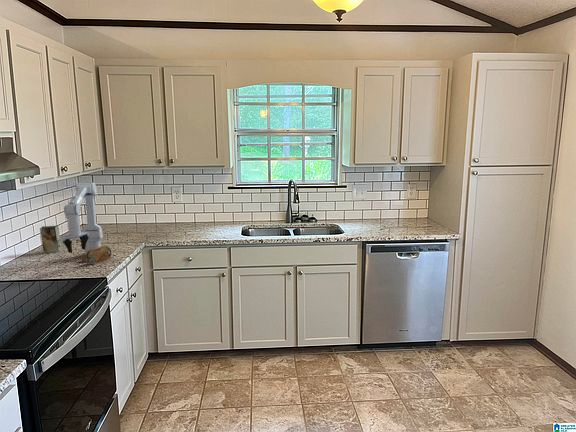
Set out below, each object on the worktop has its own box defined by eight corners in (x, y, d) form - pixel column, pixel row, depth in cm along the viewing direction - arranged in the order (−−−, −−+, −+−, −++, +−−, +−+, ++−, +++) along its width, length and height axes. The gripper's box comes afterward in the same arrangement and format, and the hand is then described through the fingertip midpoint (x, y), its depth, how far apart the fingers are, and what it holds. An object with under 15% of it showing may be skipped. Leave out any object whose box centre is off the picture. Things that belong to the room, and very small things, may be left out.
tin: (89, 265, 233) (87, 251, 232) (85, 265, 235) (84, 250, 233) (112, 258, 246) (110, 244, 245) (108, 258, 248) (107, 244, 246)
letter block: (82, 261, 243) (81, 253, 242) (89, 259, 246) (88, 251, 245) (86, 262, 240) (85, 254, 239) (94, 260, 244) (93, 252, 243)
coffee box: (62, 249, 271) (58, 225, 268) (58, 252, 264) (55, 227, 262) (46, 250, 269) (43, 226, 266) (42, 253, 263) (39, 228, 260)
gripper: (65, 229, 218) (68, 255, 220) (91, 224, 230) (93, 248, 232) (57, 228, 221) (60, 253, 224) (83, 223, 234) (86, 247, 236)
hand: (77, 250), depth 228 cm, fingers open, 7 cm apart
